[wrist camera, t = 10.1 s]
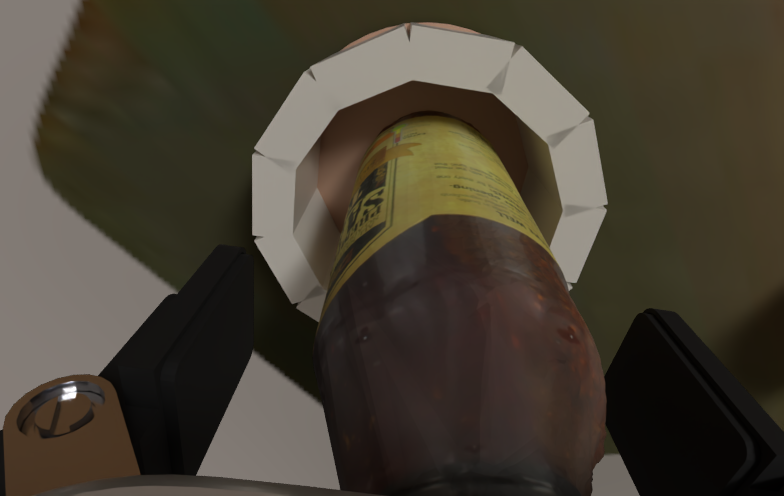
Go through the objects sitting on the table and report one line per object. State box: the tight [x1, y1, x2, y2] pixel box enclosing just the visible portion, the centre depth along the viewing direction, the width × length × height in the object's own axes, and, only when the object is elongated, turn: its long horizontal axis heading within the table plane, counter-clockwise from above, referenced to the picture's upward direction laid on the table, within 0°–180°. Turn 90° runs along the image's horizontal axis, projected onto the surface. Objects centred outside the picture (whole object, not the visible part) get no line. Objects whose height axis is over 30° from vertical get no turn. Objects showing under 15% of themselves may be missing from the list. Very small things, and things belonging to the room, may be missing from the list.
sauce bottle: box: [312, 110, 607, 496], centre depth 12 cm, size 7×6×20 cm
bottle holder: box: [252, 22, 608, 322], centre depth 18 cm, size 13×13×6 cm
